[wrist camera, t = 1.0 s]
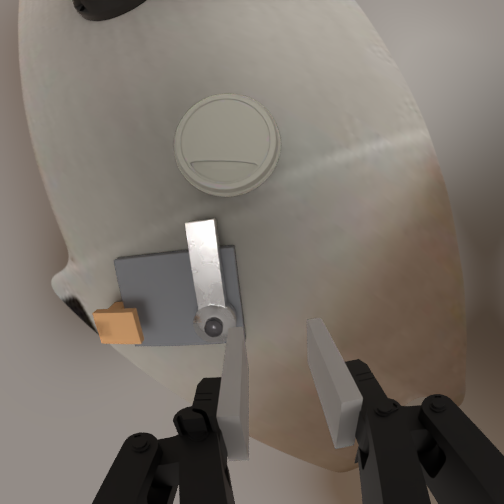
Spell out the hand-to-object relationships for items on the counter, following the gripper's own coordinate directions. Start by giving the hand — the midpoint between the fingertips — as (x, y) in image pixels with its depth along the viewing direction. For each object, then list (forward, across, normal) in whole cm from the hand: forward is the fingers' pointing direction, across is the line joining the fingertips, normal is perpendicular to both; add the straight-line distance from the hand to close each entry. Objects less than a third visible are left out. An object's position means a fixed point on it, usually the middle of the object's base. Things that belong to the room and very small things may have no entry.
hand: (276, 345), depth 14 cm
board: (+20, -10, -4) cm, 23 cm away
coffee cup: (+20, -2, +12) cm, 23 cm away
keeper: (+20, -17, -5) cm, 27 cm away
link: (+18, -6, -1) cm, 19 cm away
